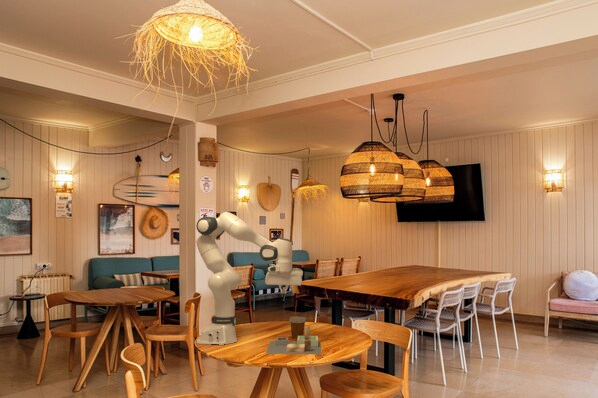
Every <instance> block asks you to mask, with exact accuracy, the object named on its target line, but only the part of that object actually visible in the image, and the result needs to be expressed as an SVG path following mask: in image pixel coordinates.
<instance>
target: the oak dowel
mask: <svg viewBox="0 0 598 398" xmlns="http://www.w3.org/2000/svg"><path fill="white" fill-rule="evenodd" d="M304 336H305V340H310V336H311V326H310V325H305V326H304Z"/></svg>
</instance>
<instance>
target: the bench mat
mask: <svg viewBox="0 0 598 398" xmlns="http://www.w3.org/2000/svg"><path fill="white" fill-rule="evenodd" d="M288 344H297V340H296V341H291V340H290V341H289V340H288ZM321 344H322V343H321V341H318V347H311V351H304V352H287V346H276V340H275V341H273V340H270V341H269V344H268V346H267V349H266V351H265V354H266V355H322V345H321Z"/></svg>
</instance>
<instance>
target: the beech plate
mask: <svg viewBox="0 0 598 398" xmlns="http://www.w3.org/2000/svg"><path fill="white" fill-rule="evenodd" d="M304 351H305V344H287V352H304Z"/></svg>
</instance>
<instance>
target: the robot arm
mask: <svg viewBox="0 0 598 398" xmlns="http://www.w3.org/2000/svg"><path fill="white" fill-rule="evenodd" d="M196 230H197V232H198V233H199V234H200V236H199V237H198V238H197V239H196V241H195V243H196V247H197V250H198V252H199V254H200V256H201V258H202V260H203V262H204V265H205V266H206V268H207V269H208V270H209V271H210V272H212V273H213V274H212V275H211V276H210V277H209V278H208V280H207V285H208V289H209V290H210V291H211V293H212V295H213V299H214V314H213V315H212V316H211V319H210V320H211V321H210V323H209V324H208V325H207V326H206V327H205V328H203V329H202V331H201V332H200V333H201V334H200V337H199V338H197V339H196V344H198V345H211V344H219V345H218V346H224V344H225V345H228V344H235V343H236V342H238V338H237V335H236V334H237V333H236V319H237V318H236V315H235V313H236V312H235V311H236V302H235V300H234V299H233V297H232V292H231V291H232V290H235V289H237V288H238V287H239V286H241V284H242V279H243V278H242V275H241V273H239V272H238V271H236V270H235V268H233V267H232V266H231V264H230V263H229V262H228V261H227V260H226V258H225V257H224V255H223V253H222V251H221V250H220V248H219V246H218V244H217V242H216V240H218V239H220V237H221V236H222V235H223V234H224V233H226V234H228V235H230V236H231V237H232V238H234V239H236V240H237V241H238V240H239V241H244V242H249V243H253V244H255V245H256V246H258V247H259V248H260V249H259V256H260V258H261V260H263V261H265V262H274V261H275V264H274V265H270V266H268V268H267V272H266V275H265V279H264V281H265V282H264V284H265V285H267V286H278V288H279V290H280V294H284V295H285V294H287V290H288V288H289V286H297V287H298V286H302V285H303V279H302V278H303V275H304V271H303V270H302V269H301V268H298V267H293V243H292V241H291V239H288V238H283V237H279V238H277V239H276V240H274V241H272V240H270V239H268V238H267V237H266V236H264V235H263V234H261V233H260V232H258V231H256V230H255V229H254V228H252V227H251V226H250V225H249V224H248V223H246V222H245V221H244V220H243V219H242V218H240V216H237V215H235V214H233V213H231V212H229V211H224V212H221V213H220V215H219V216H218V217H214V216H203V217H200V218H199V219H198V220H197V222H196ZM283 286H285V289H282V287H283Z"/></svg>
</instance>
